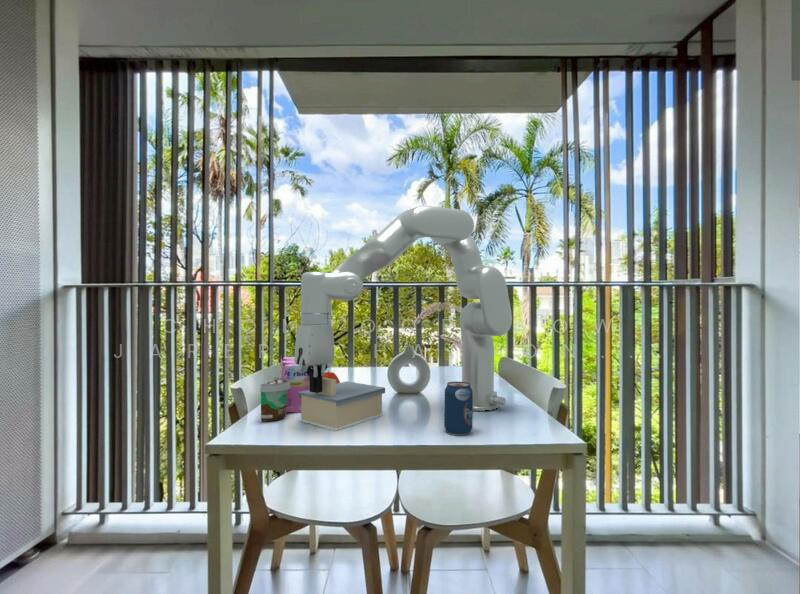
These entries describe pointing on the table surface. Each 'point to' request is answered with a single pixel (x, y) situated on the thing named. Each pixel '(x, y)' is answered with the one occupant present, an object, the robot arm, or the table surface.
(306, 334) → the robot arm
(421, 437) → the table surface
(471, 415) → the soda can
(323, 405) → the box
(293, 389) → the gum box
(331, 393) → the lid
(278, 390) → the food container
